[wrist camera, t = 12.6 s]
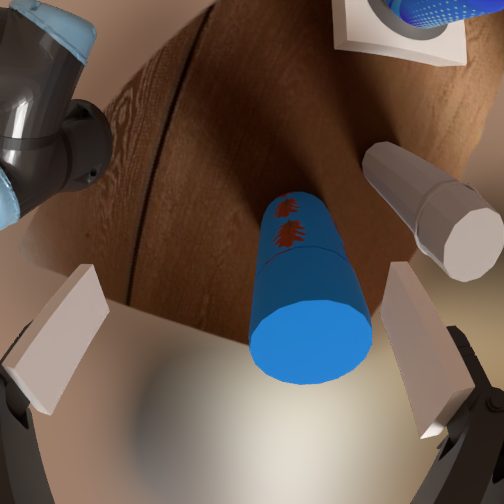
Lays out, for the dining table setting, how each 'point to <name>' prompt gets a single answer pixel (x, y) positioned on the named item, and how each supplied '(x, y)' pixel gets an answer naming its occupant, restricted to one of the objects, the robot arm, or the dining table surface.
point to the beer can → (441, 10)
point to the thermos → (306, 296)
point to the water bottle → (437, 210)
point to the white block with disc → (395, 34)
